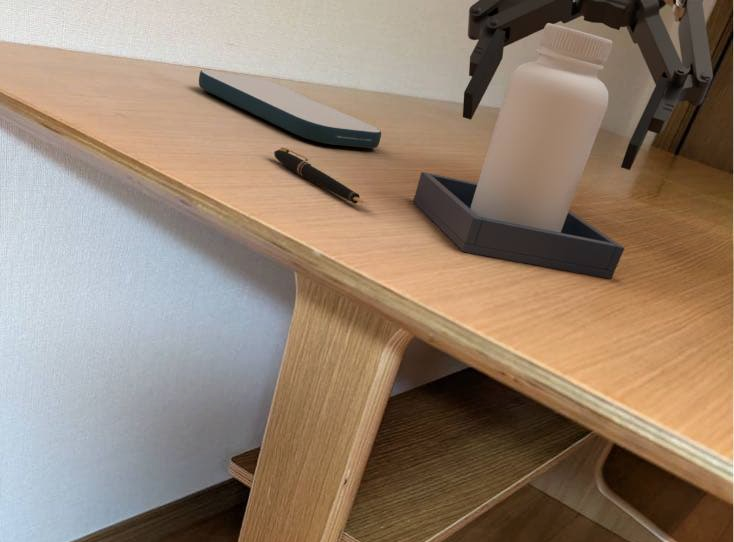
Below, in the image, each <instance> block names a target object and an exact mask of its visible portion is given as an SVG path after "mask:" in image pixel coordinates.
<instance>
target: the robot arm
mask: <svg viewBox="0 0 734 542" xmlns="http://www.w3.org/2000/svg"><path fill="white" fill-rule="evenodd" d="M703 3H704V0H478V1H476V2H475V3H474V4H473V3H472V5H471V6H470V7H469V9H468V23H467V37H468V39H470V40H472V41H477V40H478V41H477V42H476V44H475V46H474V48H473V50H472V52H471V54H470V56H469V65H468V76H469V77H471V79H469V82H468V84H467V86H466V87H465V89H464V92H463V106H462V118H464V119H467V120H470V121H472V119H473V118H474V115H475V114H476V112H477V109H478V107H479V105H480V103H481V101H482V99H483V97H484V95H485V93H486V92H487V90H488V88H489V86H490V84H491V82H492V80H493V78H494V76H495V74H496V72H497V70H498V68H499V66H500V64H501V62H502V60H503V58H504V49H505V47H507V46H509V45H513V43H516V42H518V41H520V40H523V39H524V38H528V37H529V36H531V35H533V34H535V33H537V32H538V33H539V31H543V30H544V27H545V26H546V24H547V23H550V24H555V25H556V24H557V23H559V22H561V23H562V24H568V23H569V22H571V21H574V20H576V19H578V18H580V17H583V21H585V22H587V23H588V22H589V23H592V24H593V23H594V24H603V25H604V26H606V27H608V28H610V29H613V30H617V31H620V30H621V28H626V30H627V32H628V34H629V36H630V38H631V40H632V43H633V44H634V45H635V44H637V46H638V48H639V50H640V53H641V55H642V57H643V59H644V62H645V64H646V66H647V69H648V71H649V73H650V75H651V77H652V80H653V82H654V85H655V86H654V88H653V91H652V93H651V95H650V97H649V99H648V101H647V104H646V106H645V108H644V110H643V112H642V114H641V116H640V118H639V120H638V122H637V125H636V127H635V130H634V131H633V134H632V136H631V138H630V140H629V141H628V144H627V147H626V151H625V153H624V157H623V159H622V161H621V162H622V163H621V164H620V165H621V166H620V168H621V169H623V170H624V169H625V170H627V171H631V168H632V167H633V165H634V162H635V160H636V159H637V156H638V154H639V151H640V149H641V147H642V145H643V143H644V141H645V140H646V139H645V138H646V137H647V134H648V132H651V133H655V134H657V135H660V134H662V132H664V131H665V129H666V127H667V126H668V125H667V124H668V123H669V120H670V118H671V116H672V114H673V112H674V110H675V108H676V105H678V104H679V103H681V102H687V103H688V104H689V105H690V106H694V107H696V106H700V105H702V103H703V102H704V99H705V96H706V94H707V92H708V90H709V88H710V86H711V83H712V81H713V78H714V73H713V66H712V57H711V52H710V45H709V39H708V32H707V25H706V18H705V11H704V4H703ZM665 6H670V7H671V9H672V14H673V16H674V18H673V20H674V21H675V22H676V23H678V27H677V34H678V42H679V49H680V50H679V51H680V56H679V53H678V51H677V49H676V47H675V44H674V42H673V40H672V37H671V36H670V33H669V32H668V29H667V27H666V25H665V23H664V20H663V19H662V16H661V13H660V10H662V9H664V8H665Z"/></svg>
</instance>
